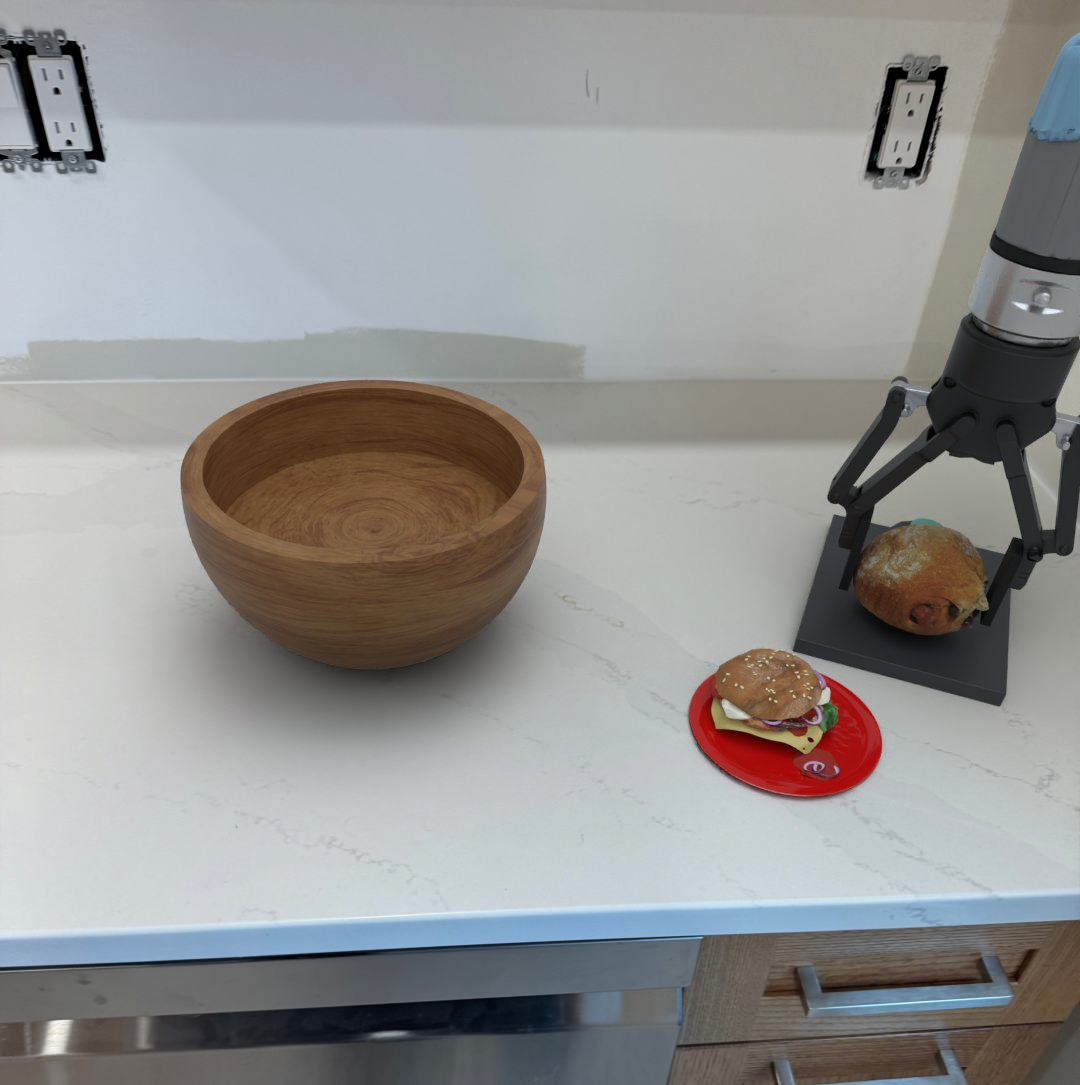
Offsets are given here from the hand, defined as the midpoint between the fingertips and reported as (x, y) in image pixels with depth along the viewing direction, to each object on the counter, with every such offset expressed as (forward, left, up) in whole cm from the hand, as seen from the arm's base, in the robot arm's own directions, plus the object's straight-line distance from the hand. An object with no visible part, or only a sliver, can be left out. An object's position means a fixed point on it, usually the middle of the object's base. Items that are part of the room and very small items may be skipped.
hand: (914, 598), depth 77 cm
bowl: (+39, +18, -3) cm, 43 cm away
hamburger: (+7, +16, -3) cm, 18 cm away
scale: (0, -3, -3) cm, 4 cm away
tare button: (0, -9, 0) cm, 10 cm away
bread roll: (0, 0, 0) cm, 1 cm away
